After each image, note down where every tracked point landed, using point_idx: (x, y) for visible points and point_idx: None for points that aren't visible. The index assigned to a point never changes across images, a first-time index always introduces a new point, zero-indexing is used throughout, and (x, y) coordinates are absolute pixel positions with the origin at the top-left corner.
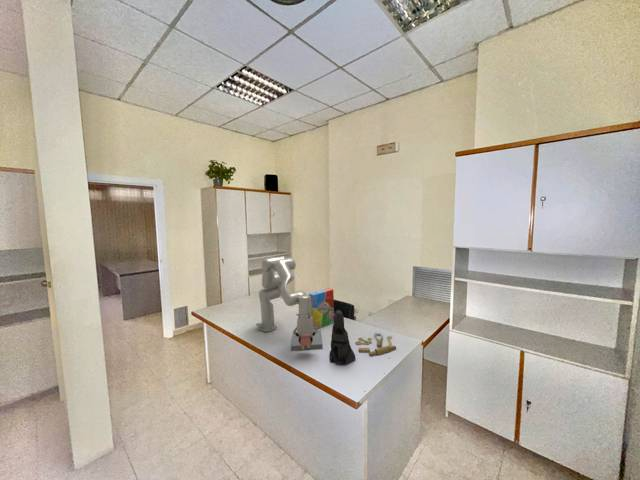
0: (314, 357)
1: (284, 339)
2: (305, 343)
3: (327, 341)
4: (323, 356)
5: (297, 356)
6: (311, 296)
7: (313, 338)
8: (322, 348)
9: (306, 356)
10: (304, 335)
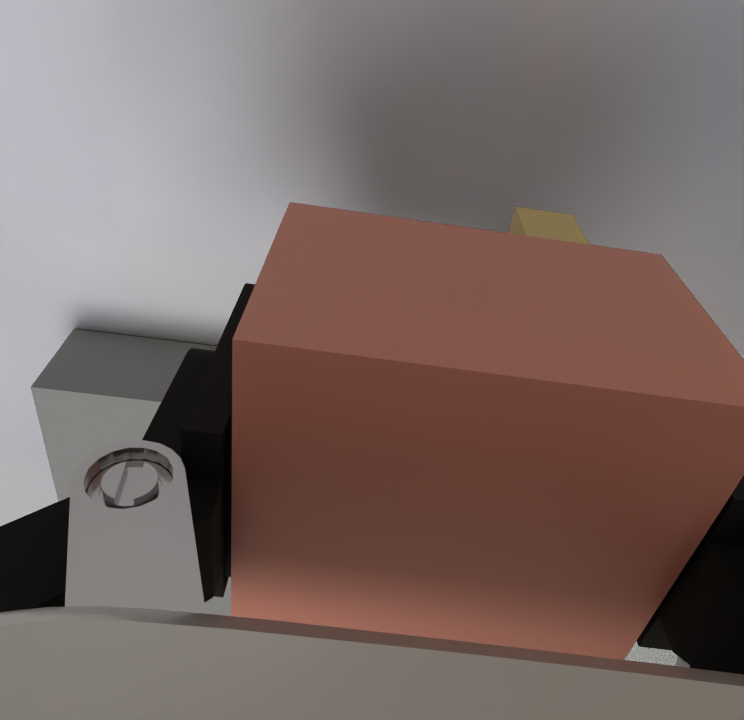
0: (248, 22)
1: (660, 656)
2: (490, 262)
3: (9, 502)
4: (16, 11)
5: (635, 174)
6: None
7: (228, 582)
8: (73, 331)
9: (436, 121)
10: (481, 623)
